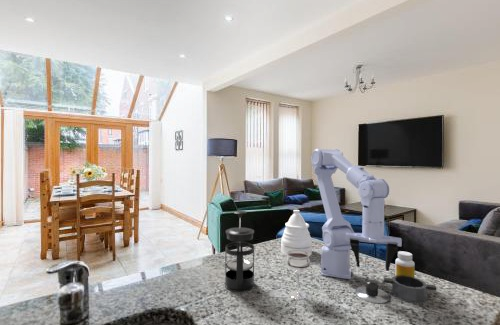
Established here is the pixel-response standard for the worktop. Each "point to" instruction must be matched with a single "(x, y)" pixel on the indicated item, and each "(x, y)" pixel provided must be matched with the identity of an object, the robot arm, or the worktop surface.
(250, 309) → the worktop surface
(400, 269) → the supplement bottle
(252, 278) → the french press
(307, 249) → the honey pot
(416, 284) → the pot
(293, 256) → the wineglass
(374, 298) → the lid
